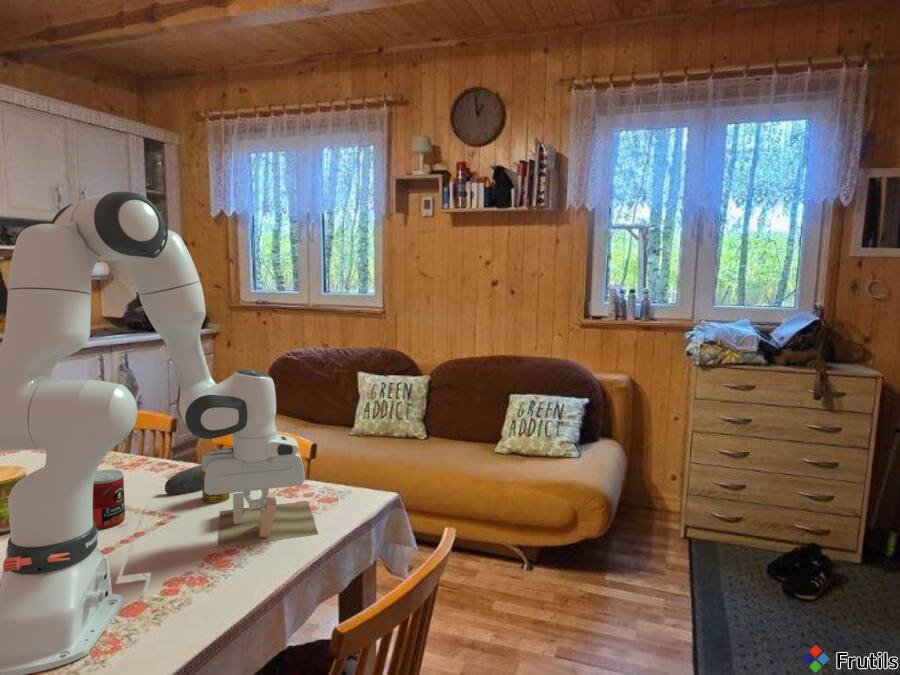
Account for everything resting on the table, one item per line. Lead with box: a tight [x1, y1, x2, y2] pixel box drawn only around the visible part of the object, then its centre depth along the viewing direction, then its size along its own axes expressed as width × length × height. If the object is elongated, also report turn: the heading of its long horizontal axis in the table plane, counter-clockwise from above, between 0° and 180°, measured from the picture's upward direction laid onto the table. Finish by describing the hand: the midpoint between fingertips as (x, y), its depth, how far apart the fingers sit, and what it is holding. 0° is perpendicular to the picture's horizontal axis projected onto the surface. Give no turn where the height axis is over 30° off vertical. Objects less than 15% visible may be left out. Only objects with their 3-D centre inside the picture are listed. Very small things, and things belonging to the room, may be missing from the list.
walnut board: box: [217, 500, 319, 549], centre depth 129 cm, size 19×20×1 cm
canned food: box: [93, 469, 126, 530], centre depth 129 cm, size 8×8×11 cm
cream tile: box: [232, 492, 245, 524], centre depth 130 cm, size 7×2×7 cm, turn 20°
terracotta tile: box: [258, 492, 277, 538], centre depth 124 cm, size 7×2×7 cm, turn 20°
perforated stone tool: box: [164, 464, 203, 496], centre depth 147 cm, size 15×5×7 cm, turn 131°
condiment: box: [201, 469, 230, 505], centre depth 141 cm, size 7×8×12 cm
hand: (256, 508), depth 123 cm, fingers closed
